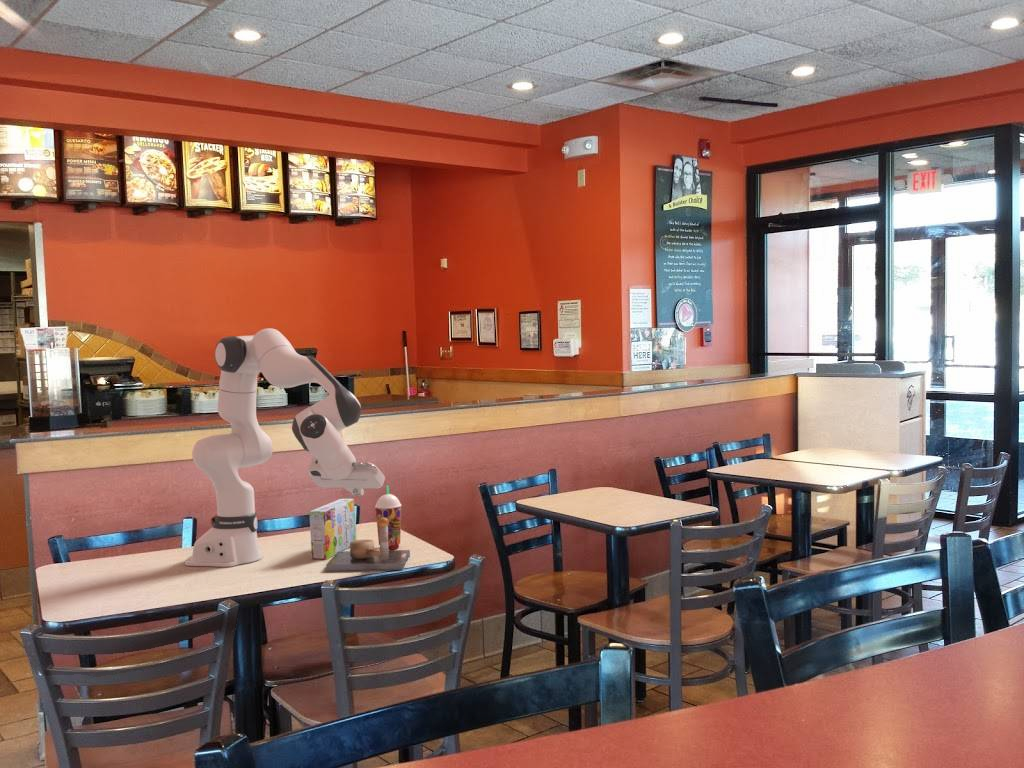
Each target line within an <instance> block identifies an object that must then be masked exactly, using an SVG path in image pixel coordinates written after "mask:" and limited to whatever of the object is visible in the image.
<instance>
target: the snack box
mask: <svg viewBox="0 0 1024 768" xmlns="http://www.w3.org/2000/svg"><path fill="white" fill-rule="evenodd" d="M355 509H356V508H355V499H354V498H339V499H336V500H335V501H332V502H328V503H327V504H324V505H322V506H319V507H316V508H314V509H313V510H309V512H308V514H309V528H310V531H309V532H310V545H311V546H310V549H311V559H312V560H328V559H330V558H333V557H334V555H335V554H336V553H337V552H343V551H345V550H348V549H350V542H352V541H356V540H357V530H356V529H357V528H356V527H357V526H356V513H355Z"/></svg>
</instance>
